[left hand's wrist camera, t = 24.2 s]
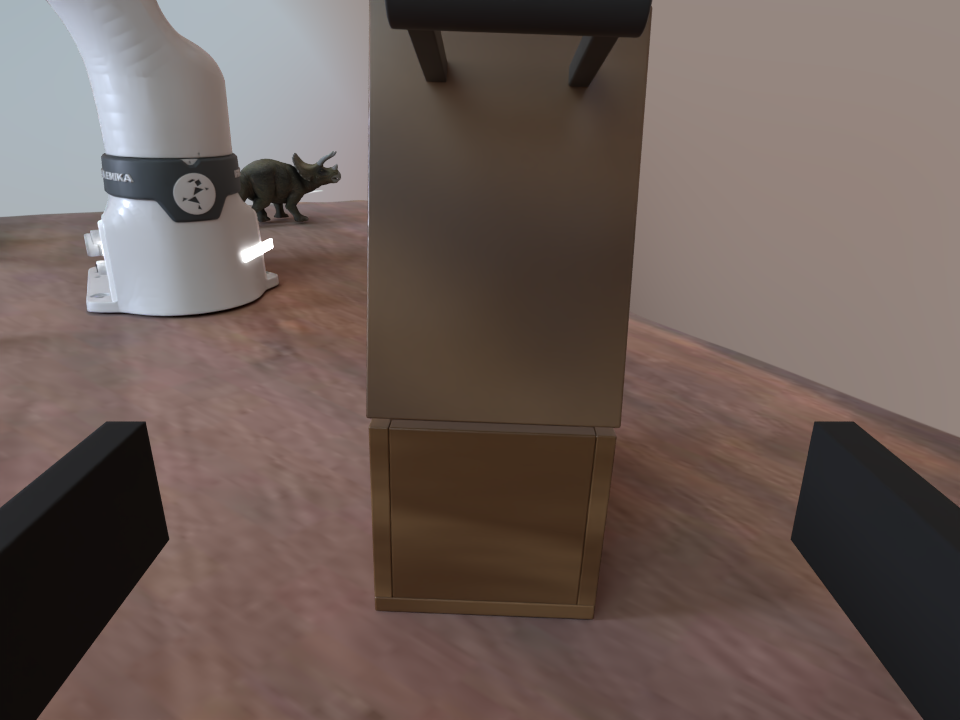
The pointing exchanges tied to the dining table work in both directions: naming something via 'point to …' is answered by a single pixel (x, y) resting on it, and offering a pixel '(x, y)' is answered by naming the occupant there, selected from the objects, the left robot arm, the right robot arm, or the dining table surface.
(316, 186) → the toy dinosaur
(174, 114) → the right robot arm
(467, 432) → the chest
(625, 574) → the dining table surface
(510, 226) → the lid
